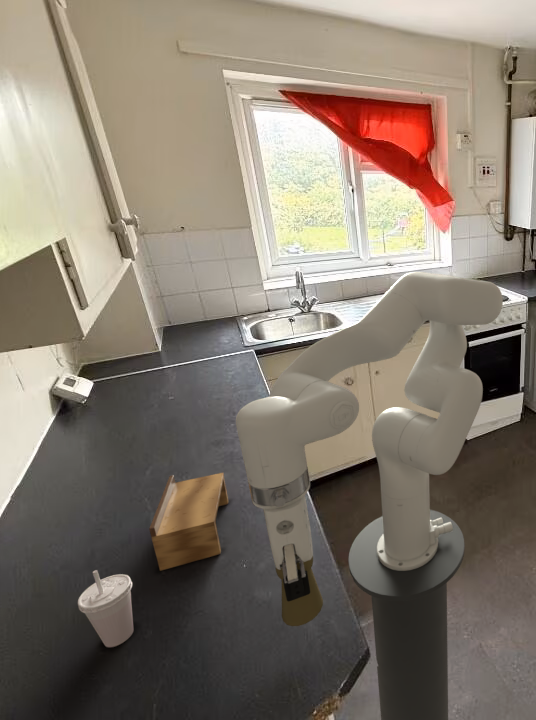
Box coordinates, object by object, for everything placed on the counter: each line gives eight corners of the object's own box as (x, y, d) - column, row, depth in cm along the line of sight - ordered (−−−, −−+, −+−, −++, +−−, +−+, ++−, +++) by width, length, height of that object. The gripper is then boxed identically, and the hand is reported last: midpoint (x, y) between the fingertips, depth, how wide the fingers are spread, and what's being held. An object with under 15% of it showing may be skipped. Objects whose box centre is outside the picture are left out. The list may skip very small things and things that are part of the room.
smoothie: (81, 656, 66) (56, 586, 62) (115, 618, 72) (94, 552, 68) (123, 655, 67) (101, 585, 63) (153, 617, 73) (135, 552, 69)
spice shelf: (228, 500, 102) (221, 465, 99) (220, 553, 86) (212, 513, 83) (178, 513, 97) (169, 475, 94) (159, 571, 82) (149, 528, 79)
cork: (325, 614, 66) (317, 560, 63) (283, 633, 63) (271, 577, 60) (320, 585, 71) (311, 533, 68) (280, 601, 68) (269, 547, 65)
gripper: (313, 513, 54) (329, 617, 60) (305, 445, 68) (318, 534, 74) (246, 532, 51) (270, 641, 56) (252, 457, 65) (271, 549, 71)
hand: (297, 579), depth 65 cm, fingers closed on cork, 5 cm apart
